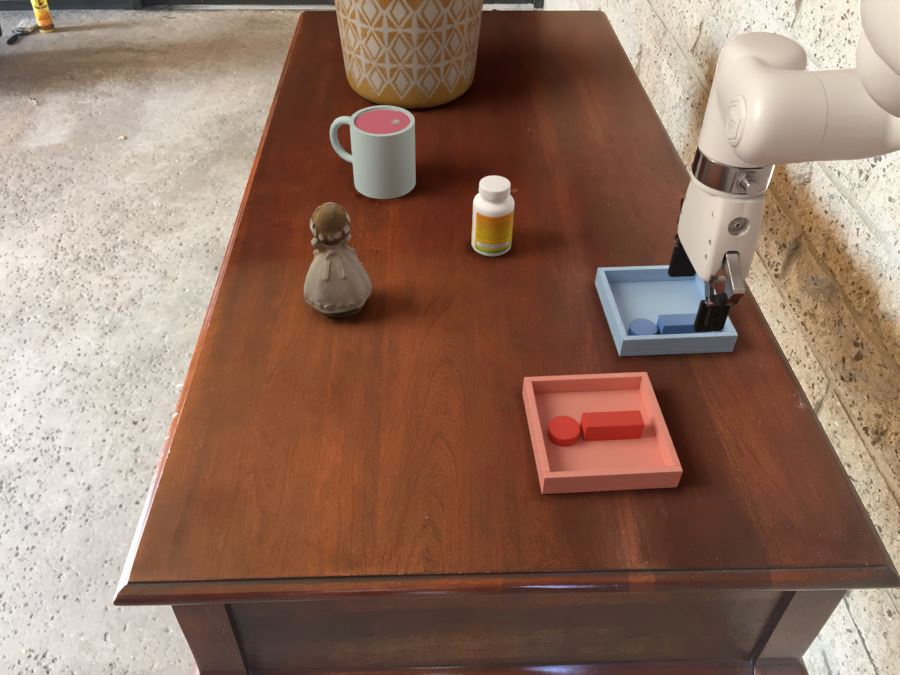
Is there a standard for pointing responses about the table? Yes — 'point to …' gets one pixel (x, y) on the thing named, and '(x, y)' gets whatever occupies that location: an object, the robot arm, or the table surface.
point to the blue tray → (656, 310)
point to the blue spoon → (664, 325)
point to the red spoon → (596, 427)
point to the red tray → (602, 459)
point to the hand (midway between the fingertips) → (693, 301)
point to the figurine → (335, 266)
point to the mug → (380, 150)
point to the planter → (409, 49)
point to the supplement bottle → (492, 217)
